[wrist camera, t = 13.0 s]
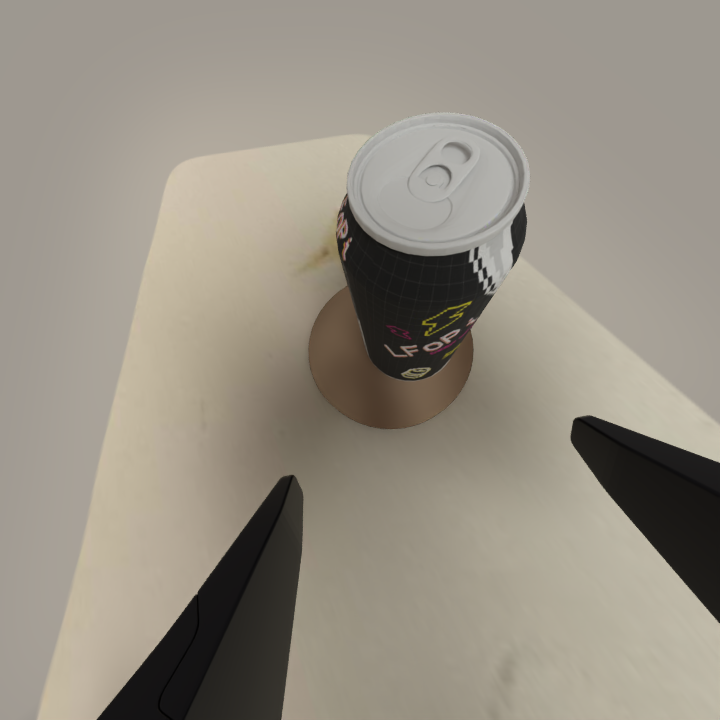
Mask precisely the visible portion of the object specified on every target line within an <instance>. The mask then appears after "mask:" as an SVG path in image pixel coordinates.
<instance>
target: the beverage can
mask: <svg viewBox="0 0 720 720" xmlns="http://www.w3.org/2000/svg"><path fill="white" fill-rule="evenodd" d="M529 181H530V172H529V165H528V161H527V158H526V156H525V154H524V152H523V150H522V148H521V147H520V146H519V144H518V143H517V142H516V141H515V140H514V138H513V137H512V136H510V135H509V134H508V133H507V132H505V131H504V130H503V129H502V128H500V127H498V126H496V125H494V124H492V123H491V122H489V121H486V120H483V119H480V118H477V117H474V116H471V115H464V114H459V113H443V112H439V113H429V114H421V115H418V116H413V117H408V118H406V119H403V120H400V121H398V122H395V123H393V124H391V125H389V126H387V127H386V128H384V129H382V130H381V131H379V132H377V133H376V134H375V135H374V136H372V137H371V138H370V139H368V141H367V142H366V143H365V144H364V145H363V146H362V147H361V148H360V149H359V151H358V152H357V154H356V156H355V157H354V159H353V161H352V163H351V166H350V169H349V172H348V177H347V194H346V196H345V198H344V200H343V202H342V205H341V208H340V211H339V214H338V220H337V231H336V237H337V244H338V251H339V255H340V259H341V263H342V266H343V270H344V273H345V277H346V280H347V284H348V288H349V291H350V295H351V298H352V302H353V306H354V309H355V313H356V316H357V320H358V323H359V327H360V331H361V334H362V338H363V341H364V345H365V349H366V351H367V354H368V356H369V358H370V360H371V361H372V363H373V364H374V365H375V366H376V367H377V368H378V369H379V370H380V371H381V372H382V373H384V374H385V375H387V376H389V377H392V378H394V379H397V380H402V381H418V380H423V379H426V378H429V377H431V376H433V375H435V374H436V373H438V372H439V371H440V370H442V369H443V368H444V367H445V366H446V364H447V363H448V361H449V360H450V359H451V357H452V356H453V354H454V353H455V351H456V350H457V348H458V347H459V345H460V344H461V342H462V341H463V339H464V338H465V336H466V335H467V334H468V332H469V331H470V329H471V328H472V326H473V325H474V323H475V322H476V320H477V319H478V317H479V316H480V314H481V313H482V311H483V310H484V309H485V307H486V306H487V304H488V303H489V301H490V300H491V298H492V297H493V295H494V294H495V292H496V291H497V289H498V288H499V286H500V285H501V283H502V282H503V281H504V279H505V278H506V276H507V275H508V273H509V272H510V270H511V269H512V267H513V266H514V264H515V263H516V261H517V259H518V257H519V254H520V252H521V249H522V246H523V243H524V240H525V235H526V225H527V217H526V211H525V205H524V200H525V198H526V195H527V193H528V189H529Z"/></svg>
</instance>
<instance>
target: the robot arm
mask: <svg viewBox="0 0 720 720" xmlns="http://www.w3.org/2000/svg"><path fill="white" fill-rule="evenodd" d="M570 438H571V442H572V444H573V446H574V447H575V449H576V450H577V452H578V453H579V454H580V456H581V457H582V458H583V460H584V461H585V463H586V464H587V465H588V467H589V468H590V470H591V471H592V472H593V474H594V475H595V477H596V478H597V479H598V481H599V482H600V484H601V485H602V486H603V488H604V489H605V490H606V492H607V493H608V494H609V495H610V496H611V498H612V499H613V500H614V501H615V502H616V503H617V505H618V506H619V507H620V508H621V509H622V510H623V512H624V513H625V514H626V515H627V516H628V517H629V519H630V520H631V521H632V522H633V523H634V524H635V526H636V527H637V528H638V529H639V530H640V531H641V533H642V534H643V535H644V536H645V537H646V538H647V540H648V541H649V542H650V543H651V544H652V545H653V547H654V548H655V549H656V550H657V551H658V552H659V553H660V555H661V556H662V557H663V558H664V559H665V560H666V562H667V563H668V564H669V565H670V566H671V567H672V569H673V570H674V571H675V572H676V573H677V574H678V576H679V577H680V578H681V579H682V580H683V581H684V583H685V584H686V585H687V586H688V587H689V588H690V590H691V591H692V592H693V593H694V594H695V595H696V597H697V598H698V599H699V600H700V601H701V602H702V603H703V605H704V606H705V607H706V608H707V609H708V610H709V612H710V613H711V614H712V615H713V616H714V617H715V619H716V620H717V621H718V622H719V623H720V463H719V462H716V461H713V460H711V459H708V458H705V457H702V456H700V455H697V454H694V453H692V452H689V451H686V450H683V449H681V448H678V447H675V446H673V445H670V444H667V443H664V442H662V441H659V440H656V439H653V438H651V437H648V436H645V435H643V434H640V433H637V432H634V431H632V430H629V429H626V428H623V427H621V426H618V425H615V424H613V423H610V422H607V421H604V420H602V419H599V418H596V417H594V416H590V415H587V416H582V417H577V418H575V419H574V420H573V425H572V431H571V437H570ZM302 536H303V492H302V489H301V487H300V485H299V483H298V481H297V479H296V477H295V476H294V475H289V476H284V477H282V478H280V480H279V481H278V482H277V484H276V485H275V487H274V488H273V489H272V491H271V492H270V493H269V495H268V496H267V497H266V499H265V500H264V502H263V503H262V504H261V506H260V507H259V508H258V510H257V511H256V513H255V514H254V515H253V517H252V518H251V519H250V521H249V522H248V523H247V525H246V526H245V528H244V529H243V530H242V532H241V533H240V534H239V536H238V537H237V539H236V540H235V541H234V543H233V544H232V545H231V547H230V548H229V550H228V551H227V552H226V554H225V555H224V556H223V558H222V559H221V560H220V562H219V563H218V565H217V566H216V567H215V569H214V570H213V571H212V573H211V574H210V576H209V577H208V578H207V580H206V581H205V582H204V584H203V585H202V586H201V588H200V589H199V591H198V595H195V596H194V597H193V599H192V600H191V601H190V603H189V604H188V606H187V607H186V608H185V610H184V611H183V612H182V614H181V615H180V616H179V618H178V619H177V620H176V622H175V623H174V624H173V626H172V627H171V628H170V630H169V631H168V632H167V634H166V635H165V636H164V637H163V639H162V640H161V641H160V642H159V644H158V645H157V646H156V647H155V649H154V650H153V651H152V652H151V654H150V655H149V656H148V657H147V659H146V660H145V661H144V662H143V664H142V665H141V666H140V667H139V669H138V670H137V671H136V672H135V674H134V675H133V676H132V677H131V678H130V680H129V681H128V682H127V683H126V685H125V686H124V687H123V688H122V689H121V691H120V692H119V693H118V694H117V695H116V697H115V698H114V699H113V700H112V702H111V703H110V704H109V705H108V706H107V708H106V709H105V710H104V711H103V713H102V714H101V715H100V716H99V717H98V719H97V720H281V718H282V709H283V701H284V693H285V685H286V677H287V669H288V660H289V652H290V644H291V636H292V628H293V620H294V612H295V603H296V595H297V587H298V579H299V571H300V563H301V554H302Z"/></svg>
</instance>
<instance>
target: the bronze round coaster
mask: <svg viewBox="0 0 720 720" xmlns="http://www.w3.org/2000/svg"><path fill="white" fill-rule="evenodd" d="M472 361H473V339H472V335H471V330H470V331H469V332H468V334H467V335H466V336H465V338H464V339H463V341H462V342H461V344H460V345H459V347H458V348H457V350H456V351H455V353H454V354H453V356H452V357H451V359H450V360H449V361H448V363H447V364H446V366H445V367H444V368H443V369H442V370H440V371H439V372H438V373H436V374H435V375H433V376H431V377H429V378H426V379H423V380H418V381H402V380H397V379H394V378H392V377H389V376H387V375H385V374H384V373H382V372H381V371H380V370H379V369H378V368H377V367H376V366H375V365H374V364H373V363H372V361H371V360H370V358H369V356H368V354H367V351H366V349H365V345H364V341H363V338H362V334H361V331H360V327H359V323H358V320H357V316H356V313H355V309H354V306H353V302H352V298H351V295H350V291H349V288H348V286H346V287H345V288H343V289H342V290H340V291H339V292H338V293H337V294H335V295H334V296H333V297H332V298H331V299H330V300H329V301H328V302H327V303H326V305H325V306H324V307H323V309H322V310H321V312H320V313H319V315H318V317H317V319H316V321H315V323H314V326H313V328H312V331H311V336H310V341H309V362H310V368H311V371H312V375H313V378H314V380H315V382H316V384H317V386H318V388H319V390H320V391H321V393H322V394H323V396H324V397H325V398H326V399H327V400H328V402H329V403H330V404H331V405H332V406H334V407H335V408H336V409H337V410H338V411H339V412H341V413H342V414H344V415H346V416H347V417H349V418H350V419H352V420H354V421H357V422H359V423H361V424H364V425H367V426H370V427H376V428H382V429H397V428H405V427H410V426H414V425H417V424H419V423H422V422H425V421H427V420H428V419H430V418H432V417H434V416H436V415H437V414H438V413H440V412H441V411H442V410H444V409H445V408H446V407H447V406H448V405H449V404H451V403H452V402H453V401H454V400H455V398H456V397H457V396H458V394H459V393H460V392H461V390H462V388H463V387H464V385H465V383H466V381H467V378H468V376H469V373H470V370H471V366H472Z"/></svg>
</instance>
